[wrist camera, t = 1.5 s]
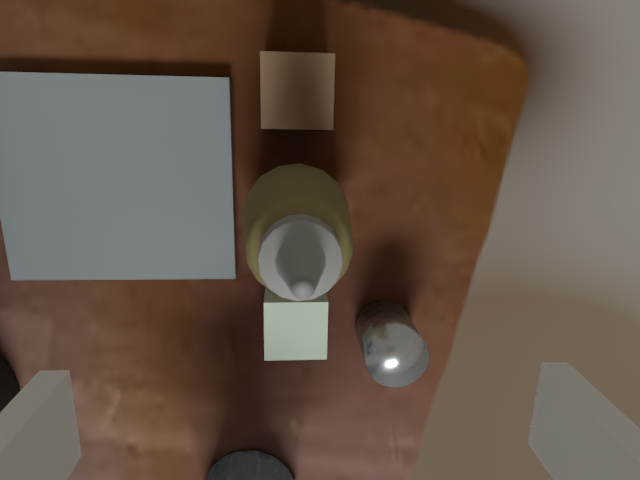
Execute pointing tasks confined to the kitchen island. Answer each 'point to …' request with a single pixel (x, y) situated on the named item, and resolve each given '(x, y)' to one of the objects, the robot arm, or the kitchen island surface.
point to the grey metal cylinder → (390, 344)
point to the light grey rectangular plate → (116, 176)
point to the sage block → (295, 328)
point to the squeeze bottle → (297, 231)
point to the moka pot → (249, 467)
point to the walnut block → (297, 90)
